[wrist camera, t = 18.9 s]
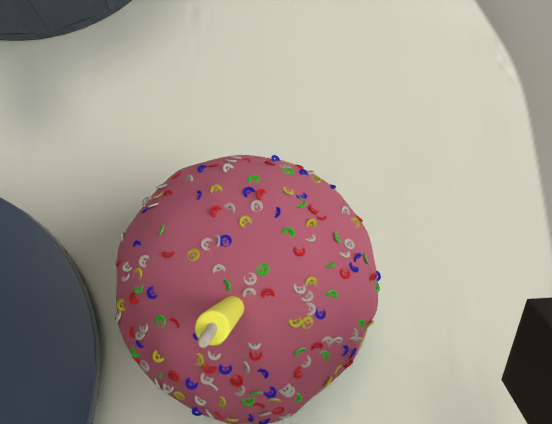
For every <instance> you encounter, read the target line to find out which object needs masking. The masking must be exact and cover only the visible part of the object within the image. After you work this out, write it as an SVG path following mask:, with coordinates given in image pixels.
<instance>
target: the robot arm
mask: <svg viewBox="0 0 552 424" xmlns="http://www.w3.org/2000/svg"><path fill="white" fill-rule="evenodd" d="M502 381H503V383H504V385H505V386H506V388H507V390H508V392H509V393H510V395H511V397H512V398H513V400H514V402H515V403H516V405H517V407H518V408H519V410H520V412H521V413H522V415H523V417H524V418H525V420H526V422H527V423H528V424H552V298H537V299H527V301H526V304H525V307H524V310H523V314H522V317H521V320H520V323H519V326H518V329H517V332H516V336H515V339H514V342H513V345H512V348H511V351H510V354H509V358H508V361H507V364H506V367H505V370H504V373H503V376H502Z"/></svg>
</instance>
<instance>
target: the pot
mask: <svg viewBox="0 0 552 424" xmlns="http://www.w3.org/2000/svg"><path fill="white" fill-rule="evenodd" d="M130 1H132V0H0V40H29V39H41V38H47V37H52V36H57V35H63V34H66V33H69V32H72V31H76V30H79V29H82V28H85V27H87V26H89V25H92V24H94V23H96V22H98V21H101V20H103V19H104V18H106V17H108V16H110V15H111V14H113V13H115V12H116V11H118V10H120V9H121V8H122V7H124V6H125V5H126V4H128V3H129V2H130Z"/></svg>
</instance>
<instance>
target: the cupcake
mask: <svg viewBox="0 0 552 424" xmlns="http://www.w3.org/2000/svg"><path fill="white" fill-rule="evenodd" d="M274 158H276V159H274ZM156 188H158V189H157V191H156V192H155V193H154V194H153V195H152V196H151V197H146V198H145V199H144V200H143V201H142V205H143V207H142V209H141V210H140V211H139V213H138V214H137V215H136V217H135V218H134V220H133V221H132V223H131V224H130V226H129V227H128V229H127V230H126V232H125V233H124V232H121V243H120V245H119V249H118V254H117V263H116V266H117V294H116V308H117V314H116V317H115V322H118V325H119V328H120V332H121V334H122V337H123V339H124V341H125V343H126V345H127V347H128V349H129V350H130V352H131V354H132V356H133V358H134V359H135V361H136V362H137V363H138V364H139V365H140V367H141V368H142V370H143V371H144V372H145V373H146V374H147V375H148V376H149V378H150V379H151V380H152V381H153V382H154V383H155V384H156V385H157V387H158V388H159V390H161V389H162V390H164V392H165V393H168V394H169V395H170V396H172V397H173V398H175V399H176V400H178V401H179V402H181V403H182V404H184V405H186V406H187V407H189V408H191V409H192V414H193V415H195V416H200V415H205V416H208V417H211V418H214V419H217V420H220V421H223V422H226V423H230V424H267V423H272V422H276V421H280V420H283V419H286V418H288V417H290V416H292V415H293V414H295V413H296V412H297V411H298V410H299V409H300V408H301V407H302V406H303V405H304V404H305V403H306V402H308V401H309V400H310V399H311V398H312V397H313V396H314V395H316V394H318V393H319V392H320V391H322V390H323V389H324V388H325V387H327V386H328V385H329V384H330V383H331V382H332V381H333V380H334V379H335V378H336V377H338V376H339V375H340V374H341V373H342V372H343V371H344V370H345V369H346V368H347V367H349V366H350V365H351V364H352V363H353V360H354V358H355V356H356V355H357V353H358V351H359V349H360V347H361V345H362V343H363V340H364V338H365V335H366V331H367V328H368V327H369V326H370V325H371V324H373V323H374V321H372V319H373V317H374V315H375V313H376V311H377V305H378V291H379V284H378V281H379V280H380V278H381V276H380V273H379V272H378V271H376V267H375V262H374V257H373V251H372V246H371V242H370V238H369V236H368V233H367V231H366V229H365V227H364V225H363V224H362V222H361V221H363V220H362V219H361V218H359V217H358V216H357V215H356V214H355V213H354V212H353V210H352V209H351V208H350V207H349V205H348V204H347V203H346V201H345V200H344V199H343V198H342V196H341V195H340V194H339V193H338V192H337V191H336V190H335V189H334V188H336V186H335V185H329V184H328V183H327V182H325V181H324V180H322V179H321V178H319V177H318V176H316V175H314V172H313V171H307V170H304V169H303V167H302V166H300V165H294V164H292V163H289V162H285V161H282V160H280V159H279V157H278V156H276V155H273V156H272V159H270V158H265V157H258V156H249V155H237V156H228V157H222V158H218V159H214V160H210V161H207V162H203V163H199V164H196V165H192V166H189V167H186V168H183V169H181V170H179V171H177V172H176V173H175V174H173V175H172V176H171V177H170V178H169V179H168V180H167V181H166V182H165V183H163V184H161V185H159V186H157V187H156ZM147 200H148V201H147ZM145 201H146V203H145ZM377 276H378V278H377ZM196 412H198V413H196Z"/></svg>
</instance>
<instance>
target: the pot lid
mask: <svg viewBox="0 0 552 424" xmlns="http://www.w3.org/2000/svg"><path fill="white" fill-rule="evenodd" d="M100 370H101V366H100V341H99V335H98V329H97V323H96V318H95V313H94V310H93V307H92V304H91V300H90V297H89V294H88V291H87V288H86V286H85V284H84V282H83V280H82V278H81V276H80V274H79V272H78V270H77V268H76V266H75V265H74V263H73V262H72V260H71V259H70V257H69V256H68V254H67V253H66V251H65V250H64V248H63V247H62V246H61V245H60V244H59V242H58V241H57V240H56V239H55V238H54V237H53V236H52V235H51V234H50V233H49V231H48V230H47V229H46V228H44V227H43V226H42V225H41V224H40V223H38V222H37V221H36V220H35V219H33V218H32V217H31V216H30V215H29V214H27V213H26V212H24V211H22V210H21V209H19V208H17V207H16V206H14V205H12V204H11V203H9V202H7V201H6V200H4V199H2V198H0V424H92V423H93V419H94V414H95V409H96V405H97V400H98V392H99V381H100Z"/></svg>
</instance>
